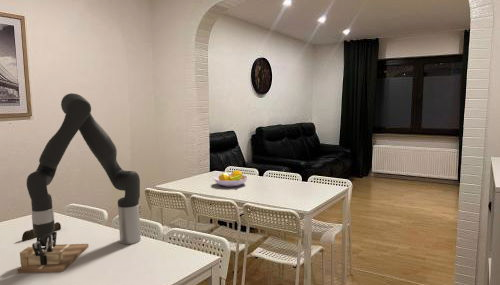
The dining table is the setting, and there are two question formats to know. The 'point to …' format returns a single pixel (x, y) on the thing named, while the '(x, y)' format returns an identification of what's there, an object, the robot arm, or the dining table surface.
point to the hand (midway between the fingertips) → (47, 261)
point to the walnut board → (68, 257)
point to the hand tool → (30, 235)
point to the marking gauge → (31, 259)
